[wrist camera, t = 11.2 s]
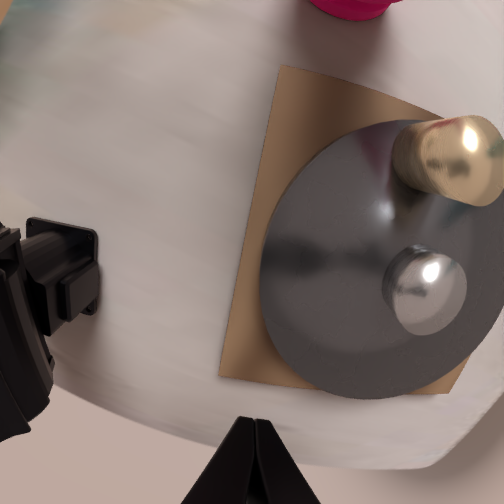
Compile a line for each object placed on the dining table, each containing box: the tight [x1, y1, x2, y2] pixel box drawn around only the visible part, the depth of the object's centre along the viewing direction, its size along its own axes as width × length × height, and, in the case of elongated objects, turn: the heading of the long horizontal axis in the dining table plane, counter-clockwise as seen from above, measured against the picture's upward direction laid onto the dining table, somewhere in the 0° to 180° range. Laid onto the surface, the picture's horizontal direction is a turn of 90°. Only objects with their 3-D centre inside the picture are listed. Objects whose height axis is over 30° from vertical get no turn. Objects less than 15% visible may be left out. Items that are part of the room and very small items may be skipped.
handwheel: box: [259, 115, 504, 399], centre depth 14 cm, size 18×18×7 cm
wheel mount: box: [218, 65, 471, 394], centre depth 19 cm, size 20×20×2 cm
